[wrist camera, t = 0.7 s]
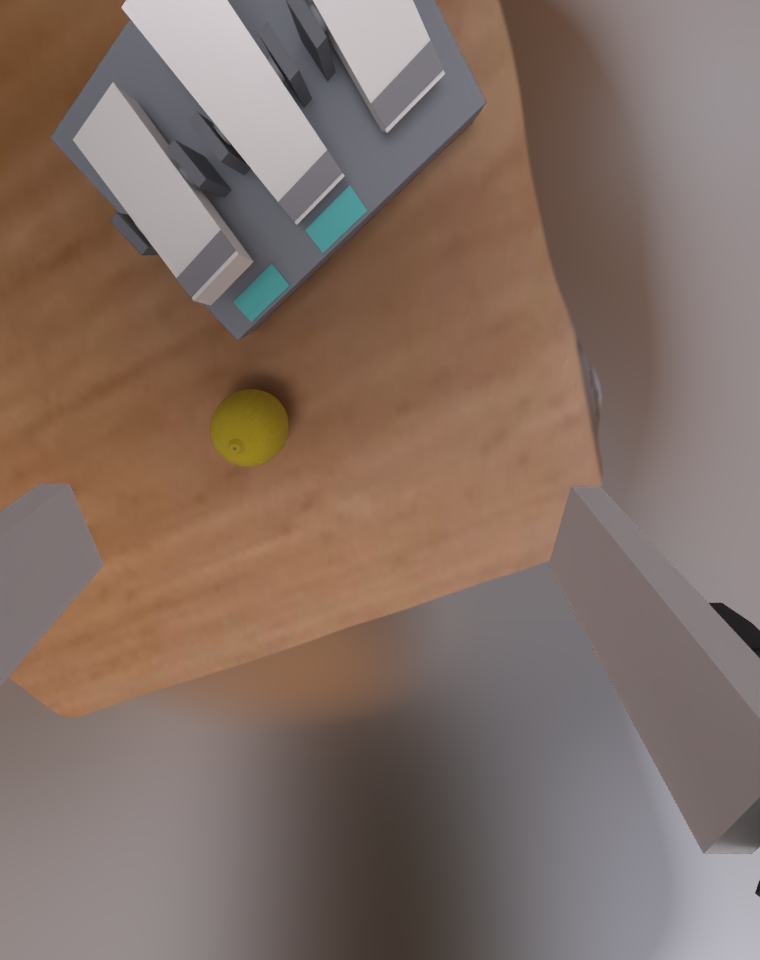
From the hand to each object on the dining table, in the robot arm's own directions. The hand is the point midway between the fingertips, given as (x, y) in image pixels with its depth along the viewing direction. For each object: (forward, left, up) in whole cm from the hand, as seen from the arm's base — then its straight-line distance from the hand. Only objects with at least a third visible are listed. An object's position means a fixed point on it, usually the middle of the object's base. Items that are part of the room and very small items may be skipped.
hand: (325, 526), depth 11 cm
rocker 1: (-13, +4, -17) cm, 22 cm away
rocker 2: (-13, -2, -17) cm, 22 cm away
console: (-13, +4, -24) cm, 28 cm away
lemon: (-1, -10, -24) cm, 26 cm away
